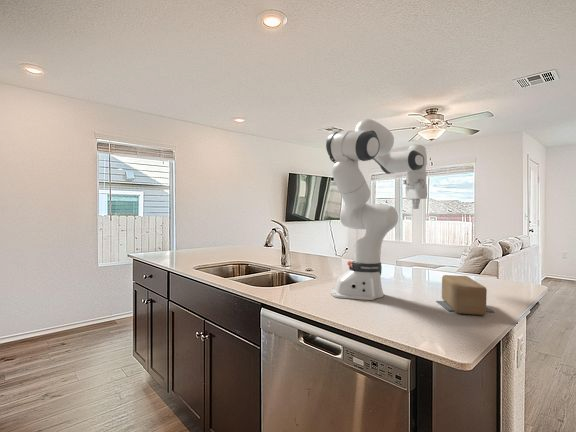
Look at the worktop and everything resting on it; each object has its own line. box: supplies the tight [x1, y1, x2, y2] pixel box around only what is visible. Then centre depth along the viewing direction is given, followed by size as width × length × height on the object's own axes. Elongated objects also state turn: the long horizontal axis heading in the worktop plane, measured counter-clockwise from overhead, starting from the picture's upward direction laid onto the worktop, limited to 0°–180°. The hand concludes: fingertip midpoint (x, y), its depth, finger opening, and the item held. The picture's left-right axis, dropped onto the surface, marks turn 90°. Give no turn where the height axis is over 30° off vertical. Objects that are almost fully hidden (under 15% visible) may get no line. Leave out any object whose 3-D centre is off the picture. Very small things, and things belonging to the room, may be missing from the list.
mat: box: [435, 300, 495, 314], centre depth 126 cm, size 16×12×1 cm
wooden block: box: [441, 274, 487, 316], centre depth 125 cm, size 10×10×20 cm
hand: (415, 208), depth 158 cm, fingers closed
